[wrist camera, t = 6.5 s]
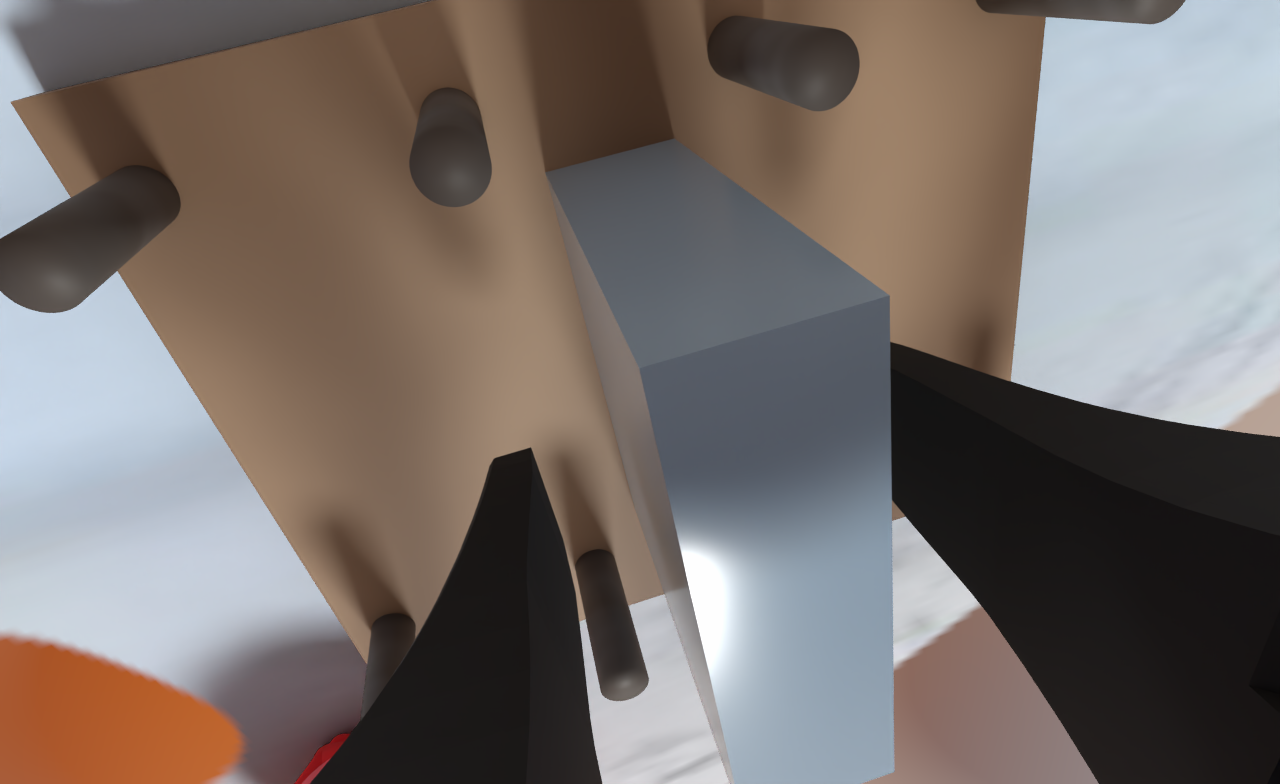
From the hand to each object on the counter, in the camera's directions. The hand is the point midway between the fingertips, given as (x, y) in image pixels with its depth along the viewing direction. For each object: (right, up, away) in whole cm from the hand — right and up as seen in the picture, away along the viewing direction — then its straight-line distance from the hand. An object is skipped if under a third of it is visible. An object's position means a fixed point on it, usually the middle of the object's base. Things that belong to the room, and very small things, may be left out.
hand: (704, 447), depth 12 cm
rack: (-1, +2, +4) cm, 5 cm away
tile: (-1, +2, +3) cm, 4 cm away
